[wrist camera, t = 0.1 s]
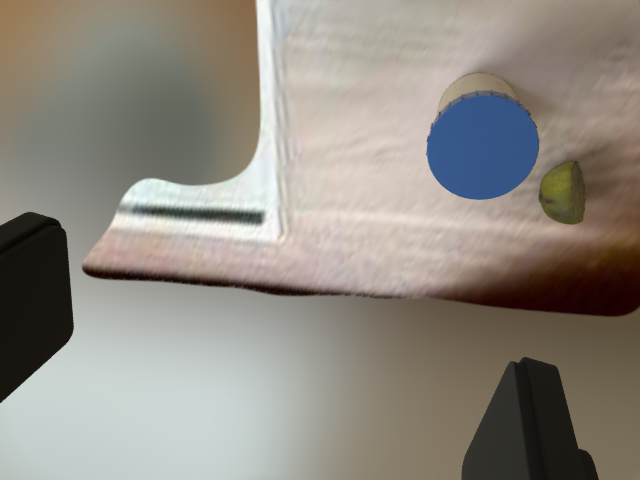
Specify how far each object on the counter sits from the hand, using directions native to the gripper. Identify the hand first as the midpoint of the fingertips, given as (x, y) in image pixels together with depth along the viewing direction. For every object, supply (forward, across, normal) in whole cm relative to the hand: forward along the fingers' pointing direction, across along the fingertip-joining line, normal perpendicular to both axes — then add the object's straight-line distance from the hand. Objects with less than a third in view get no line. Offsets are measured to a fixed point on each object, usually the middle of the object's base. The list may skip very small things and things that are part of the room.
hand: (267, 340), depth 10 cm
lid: (+26, -6, +2) cm, 27 cm away
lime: (+37, -15, +6) cm, 40 cm away
